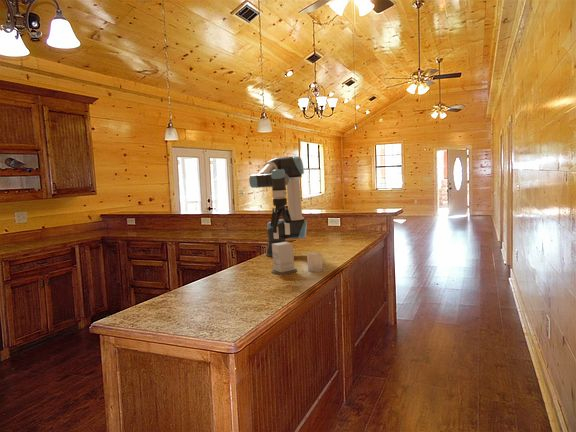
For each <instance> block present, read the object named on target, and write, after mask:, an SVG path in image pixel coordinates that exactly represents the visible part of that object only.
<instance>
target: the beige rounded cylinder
mask: <svg viewBox="0 0 576 432" xmlns="http://www.w3.org/2000/svg"><path fill="white" fill-rule="evenodd" d="M306 258H307V260H306V262H307V272H309V273H320V272H323V270H324V269H323V253H320V252H311V253H307V254H306Z"/></svg>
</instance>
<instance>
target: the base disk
mask: <svg viewBox="0 0 576 432" xmlns="http://www.w3.org/2000/svg"><path fill="white" fill-rule="evenodd" d="M294 268H295V267H294ZM297 271H298V270H297V268H295V270H291V271H286V272H278V271H275V270H274V268H273V269H272V270H271V273H272V274H274V275H289V274H294V273H296V272H297Z"/></svg>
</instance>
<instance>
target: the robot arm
mask: <svg viewBox="0 0 576 432" xmlns="http://www.w3.org/2000/svg"><path fill="white" fill-rule="evenodd" d="M304 174H305V170H304V164H303V159H302V158H301V157H300V156H298V155H297V156H294V155H293V156H281V157H275V158H272V159H270V160H268V161H266V162H265V163H264V164H263V166H262V169H261V170H260V171H259V172H258V173H257V174H249V180H248V181H249V186H250V187H251V188H256V189H258V188H271V189H272V190H271V192H272V193H271V194H272V204H273V206H274V207H272V208H271V209H272V210H271V211H272V213H271V219H270V221H269V222H267V225H266V231H267V247H266V251H265V255H266V256H267V257H272V258H273V254H272V244H274V243H281V242H286V240H287V239H288V240H290V239H298V240H299V239H304V238H306V235H307V229H308V220H305V217H304V216H303V214H302V213H303V212H302V197H301V196H302V195H301V178H302V175H304ZM281 217H282V218H283V219H280V218H281Z"/></svg>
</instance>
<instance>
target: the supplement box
mask: <svg viewBox="0 0 576 432" xmlns="http://www.w3.org/2000/svg"><path fill="white" fill-rule="evenodd" d="M272 254H273V257H272V264H273V269H274V270H275V271H278V272H286V271H291V270H295V257H294V244H293V242H290V241H289V242H288V241H285V242H281V243H274V244H272Z"/></svg>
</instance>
